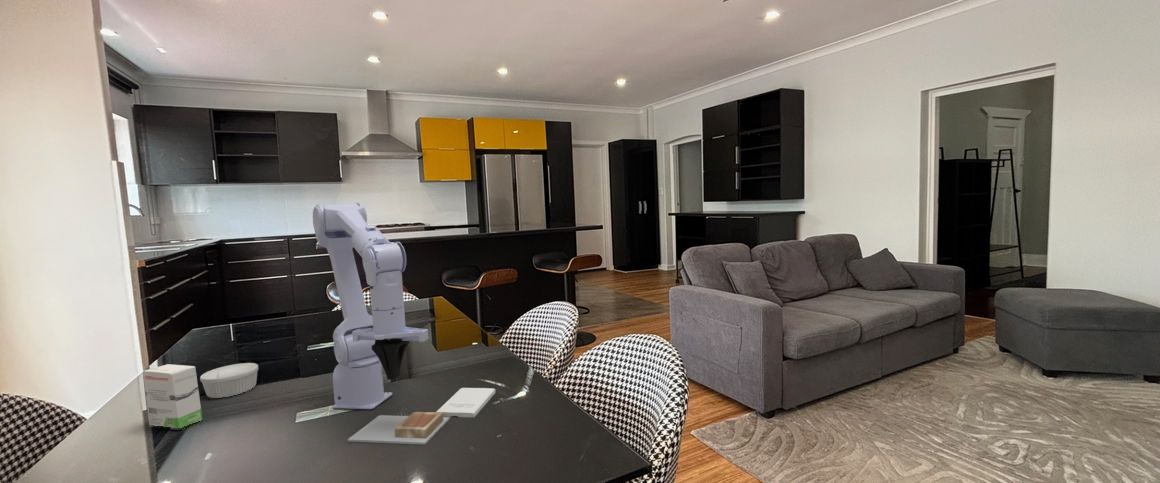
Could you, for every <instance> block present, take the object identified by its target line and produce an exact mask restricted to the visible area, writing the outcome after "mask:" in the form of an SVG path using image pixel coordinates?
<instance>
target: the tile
mask: <svg viewBox="0 0 1160 483" xmlns="http://www.w3.org/2000/svg"><path fill="white" fill-rule="evenodd" d="M436 412H437V411H436ZM436 412H433V411H431V412H430V411H429V412H427V411H426V412H425V411H413V412H412V413H411V414H410V415H408V416H409V417H408V418H406V419H405V420H404V421H403V422H402V423H401V424H399V425H398V426H397V427H396V428H395V437H404V438H427V437H428V436H429V435H430V434H431V433H432V432H433V431H434V430H435V429H436V428H437V427H438V426H439V425H440V424H441V423H442V422H443V421H444V419H443V413H436Z"/></svg>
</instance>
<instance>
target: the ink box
mask: <svg viewBox="0 0 1160 483" xmlns="http://www.w3.org/2000/svg"><path fill="white" fill-rule="evenodd" d="M196 370H197V369H196V366H195V365H182V364H169V363H166V364H164V365H160V366H156V367H153V368H149V369H145V370H143V371H142V375H143V377H142V378H143V385H144V393H145V399H146V401H145V402H146V408H147V417H148V424H149V425H154V426H163V427H171V428H177V429H178V428H182V427H184V426H187V425H189V424H192V423H195V422H198V421H200V422H202V421H203V413H202V407H201V400H200V392H199V391H200V390H199V384H198V377H197V371H196ZM201 420H202V421H201ZM198 423H199V422H198Z"/></svg>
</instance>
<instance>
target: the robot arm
mask: <svg viewBox="0 0 1160 483" xmlns="http://www.w3.org/2000/svg"><path fill="white" fill-rule="evenodd" d="M367 216H368V215H367V210H366V208H365V206H364V205H363V204H362V203H361V202H355V203H337V204H336V203H335V204H330V203H329V204H320V203H318V204H317V203H316V205H315V206H314V207H313V209H312V224H313V228H314V229H313V230H314V233H315V239H316V241H317V243H318V245H319V246H320V247H322V248H325V249H326V250H327V254H328V256H329V259H330V262H331V267H332V272H333V276H334V281H335V285H336V289H337V294H338V299H339V302H340V307H341V312H342V317H343V321H341V322H340V324H339V325H337V326H336V328H335V329H334V330H333V333H332V339H333V352H334V356H335V359H336V361H337V363H338V364H337V365H336V366H335V367H334V370H333V371H332V372H333V373H332V388H333V399H334V400H333V401H334V404H333V405H332V408H333V409H349V410H350V409H351V410H353V409H354V410H373V409H374V408H377V406H378V407H379V405H381V403H383V402H385V401H386V400H387V399H388V398H390V397H391V396H392V395H393V392H390V391H389V392H387V391H386V392H385V390H384V378H383V377H384V376H383V370H384V373H385V376H386V378H387V380H395V379H397V378H399V377H400V374H401V373H400V372H401V368H402V367H401V366H402V361H403V358H404V355H405V352H406V351H407V348H408V345H409V344H410V341H411V342H414V341H415V342H416V341H417V342H419V343H424V342H426V341H428V340H429V329H428V328H417V327H411V326H410V327H409V326H406V316H405V315H406V314H405V313H406V312H405V300H404V289H403V288H404V287H403V286H404V285H403V274H402V273H404V271H405V269H406V266H407V254H406V250H405V247H404V246H403V245H402V242H400V241H393V242H392V241H389V240H388V238H387V237H386V236H385V235H384V234H383V233H382V232H381V230H379V229H378V228H377V227H376V226H375V225H374V224H372V225H371V224H370V225H368V217H367ZM353 248H354V249H355V251H356V252H357V253H358V254H359V256H360V257H361V258H362V260H361V261H362V266H363V271H364V273H365V279H366V283H367V285H369V293H370V307H371V315H370V313H368V309H367V305H366V301H365V298H364V292H363V288H362V285H361V280H360V276H359V272H358V267H357V264H356V260H355V254H354V250H353Z"/></svg>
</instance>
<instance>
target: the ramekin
mask: <svg viewBox="0 0 1160 483" xmlns="http://www.w3.org/2000/svg"><path fill="white" fill-rule="evenodd" d="M258 371H259V365H258V364H257V363H254V362H245V363H244V362H243V363H235V364H230V365H224V366H221V367H217V368H214V369H212V370H211V369H210V370H208V371H206V372H204V373H203V374H201V375H200V378H199V380H200V382H201V383H202V386H203V389H204V392H205V394H206V396H207V397H208V398H210V397H211V398H210V399H212V398H222V397H229V396H233V395H237V394H240V393H243V392H246V391H248V390H250V391H252V390H253V389H254V388H255V387H256V385H257V380H258V378H257V377H258ZM252 388H253V389H252ZM251 389H252V390H251ZM248 392H249V391H248ZM246 393H247V392H246ZM237 396H238V395H237ZM233 397H234V396H233ZM229 398H230V397H229Z"/></svg>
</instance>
